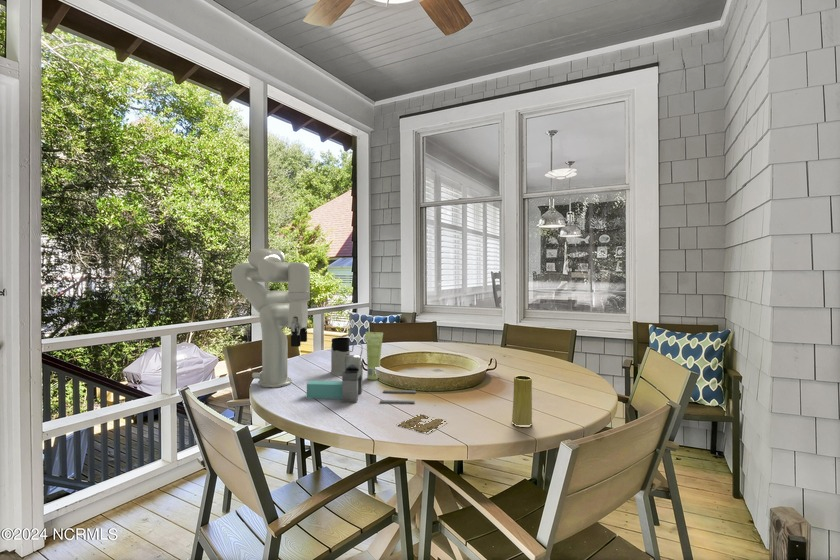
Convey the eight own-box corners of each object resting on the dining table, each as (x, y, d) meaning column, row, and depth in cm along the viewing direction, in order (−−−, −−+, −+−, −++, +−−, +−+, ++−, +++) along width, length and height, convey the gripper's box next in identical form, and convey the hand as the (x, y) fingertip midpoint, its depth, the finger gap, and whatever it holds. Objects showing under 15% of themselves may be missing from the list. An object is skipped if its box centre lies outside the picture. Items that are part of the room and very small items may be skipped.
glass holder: (334, 370, 194) (334, 336, 194) (364, 371, 192) (365, 337, 192) (327, 375, 186) (327, 340, 185) (359, 376, 184) (359, 341, 183)
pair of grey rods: (379, 403, 149) (379, 401, 149) (383, 391, 162) (383, 390, 162) (414, 403, 149) (414, 402, 149) (415, 392, 162) (415, 390, 162)
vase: (509, 420, 134) (510, 375, 133) (528, 420, 134) (529, 374, 134) (515, 428, 127) (516, 380, 127) (535, 428, 128) (536, 380, 127)
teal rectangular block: (306, 398, 154) (306, 384, 154) (310, 394, 158) (310, 380, 158) (354, 398, 154) (354, 384, 153) (356, 395, 158) (356, 381, 158)
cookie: (417, 415, 139) (417, 412, 139) (450, 423, 132) (450, 420, 132) (394, 426, 129) (394, 423, 129) (428, 436, 122) (428, 432, 122)
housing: (342, 402, 149) (342, 359, 149) (349, 391, 162) (349, 351, 162) (356, 402, 149) (356, 359, 149) (362, 391, 162) (362, 351, 162)
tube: (376, 376, 185) (376, 330, 184) (383, 378, 181) (383, 332, 180) (364, 378, 181) (365, 331, 180) (371, 380, 177) (371, 333, 176)
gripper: (294, 295, 165) (295, 340, 165) (281, 298, 148) (281, 348, 148) (314, 295, 165) (314, 340, 166) (303, 298, 148) (303, 348, 148)
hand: (299, 343), depth 157 cm, fingers open, 9 cm apart
